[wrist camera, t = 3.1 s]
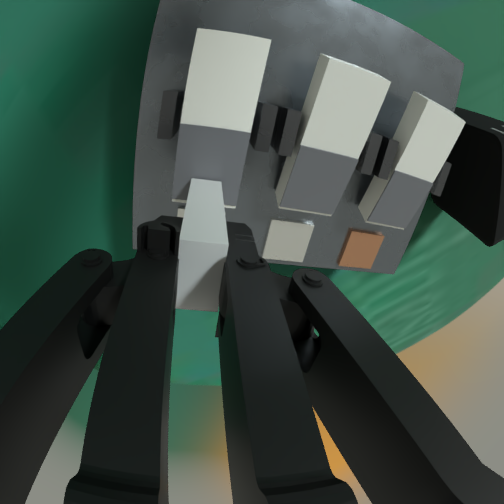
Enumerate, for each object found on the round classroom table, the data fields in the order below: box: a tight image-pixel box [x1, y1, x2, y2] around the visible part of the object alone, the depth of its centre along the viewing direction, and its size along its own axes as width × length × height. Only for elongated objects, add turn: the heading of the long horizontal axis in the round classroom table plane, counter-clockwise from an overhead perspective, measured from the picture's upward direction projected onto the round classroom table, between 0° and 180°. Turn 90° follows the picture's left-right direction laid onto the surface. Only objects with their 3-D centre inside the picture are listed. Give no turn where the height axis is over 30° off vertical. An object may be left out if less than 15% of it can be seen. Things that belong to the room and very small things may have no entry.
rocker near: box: [172, 28, 271, 209], centre depth 14 cm, size 9×3×2 cm, turn 169°
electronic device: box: [431, 107, 504, 247], centre depth 20 cm, size 4×10×10 cm, turn 19°
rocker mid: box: [275, 53, 391, 216], centre depth 15 cm, size 9×3×2 cm, turn 170°
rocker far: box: [358, 91, 466, 230], centre depth 16 cm, size 9×3×2 cm, turn 170°
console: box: [133, 0, 464, 274], centre depth 18 cm, size 19×21×9 cm
